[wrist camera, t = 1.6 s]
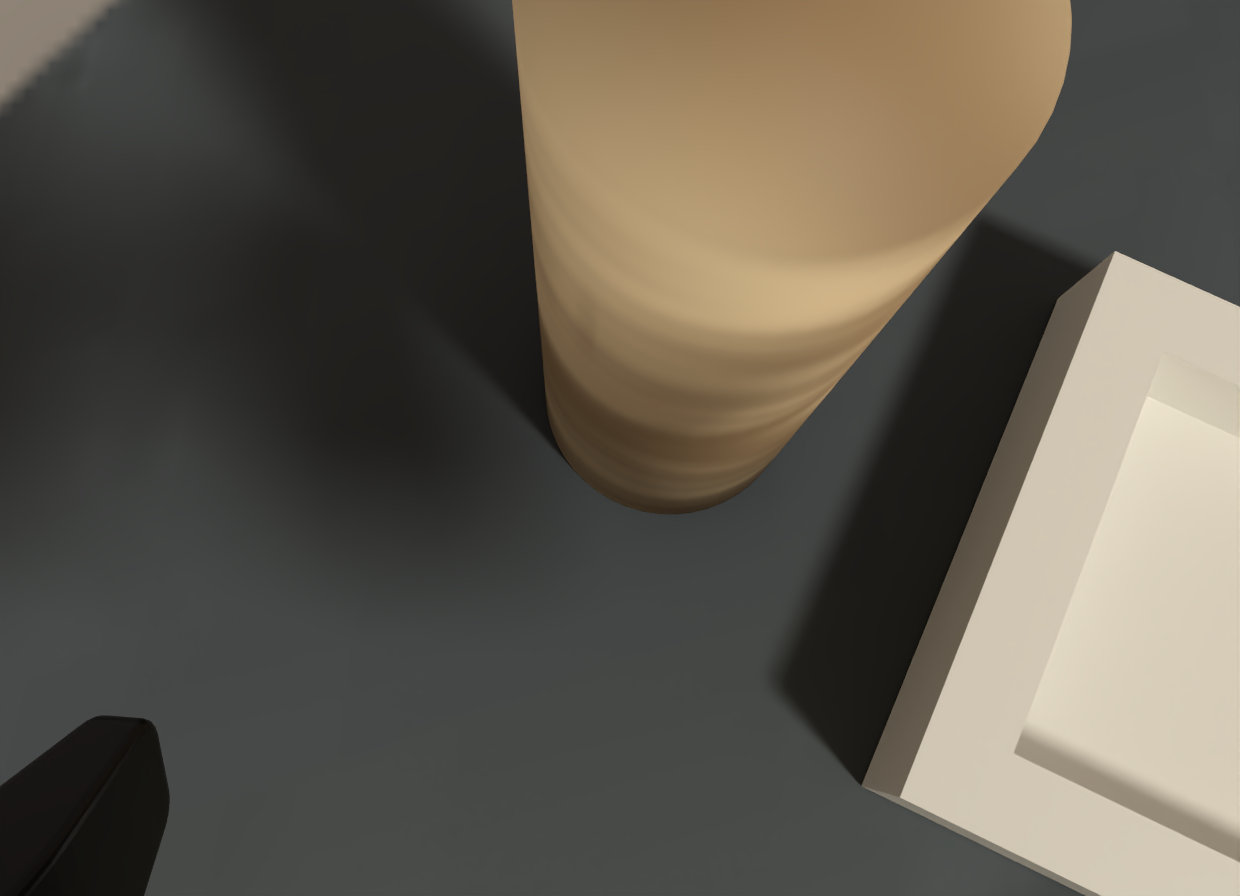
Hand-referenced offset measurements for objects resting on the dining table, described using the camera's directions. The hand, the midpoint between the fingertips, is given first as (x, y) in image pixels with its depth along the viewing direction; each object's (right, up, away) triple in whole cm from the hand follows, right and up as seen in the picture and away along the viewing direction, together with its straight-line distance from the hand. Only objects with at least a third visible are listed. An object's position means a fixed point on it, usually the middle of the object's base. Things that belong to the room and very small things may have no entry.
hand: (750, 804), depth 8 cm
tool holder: (+11, -1, +13) cm, 17 cm away
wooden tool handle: (0, +4, +14) cm, 15 cm away
